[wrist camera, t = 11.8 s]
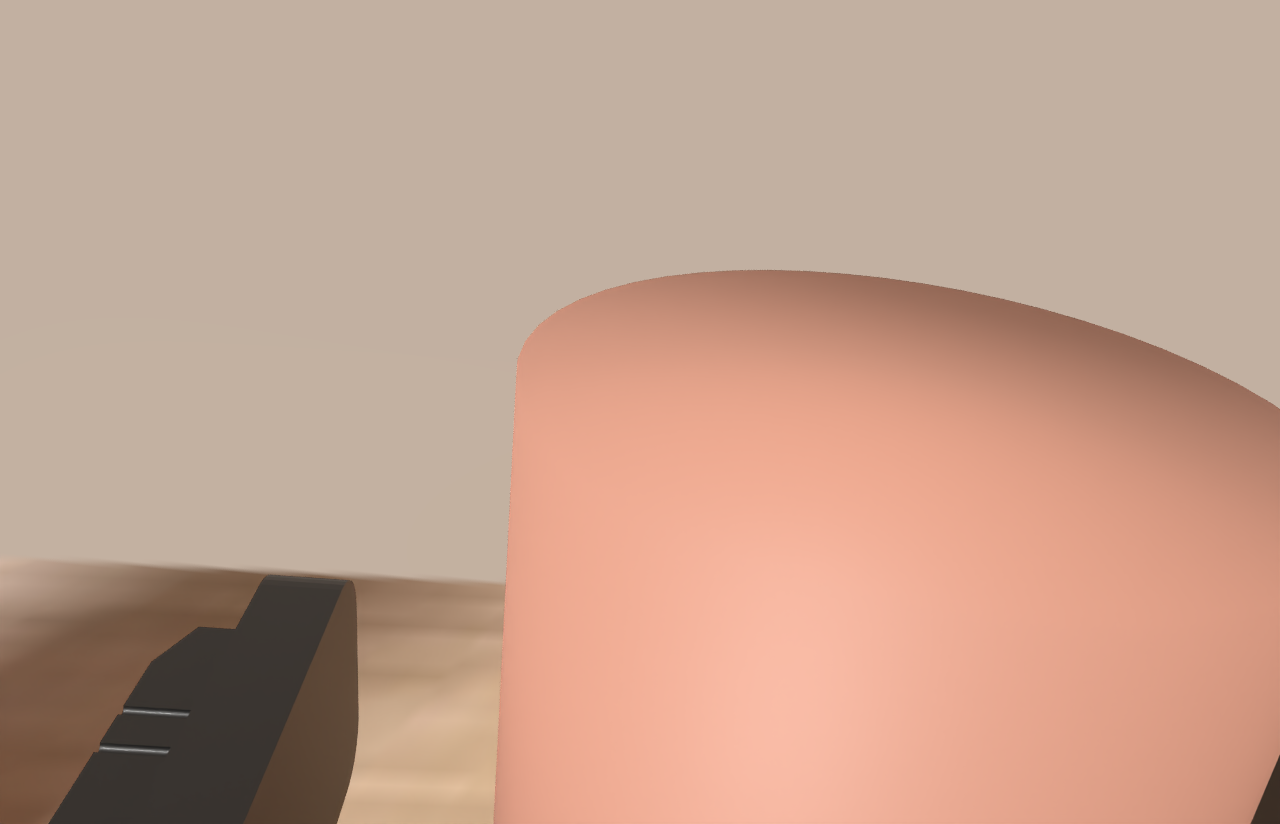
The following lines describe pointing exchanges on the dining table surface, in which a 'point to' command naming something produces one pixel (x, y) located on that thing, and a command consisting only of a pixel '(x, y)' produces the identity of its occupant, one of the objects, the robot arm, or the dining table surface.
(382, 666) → the dining table surface
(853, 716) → the salmon pink cylinder
